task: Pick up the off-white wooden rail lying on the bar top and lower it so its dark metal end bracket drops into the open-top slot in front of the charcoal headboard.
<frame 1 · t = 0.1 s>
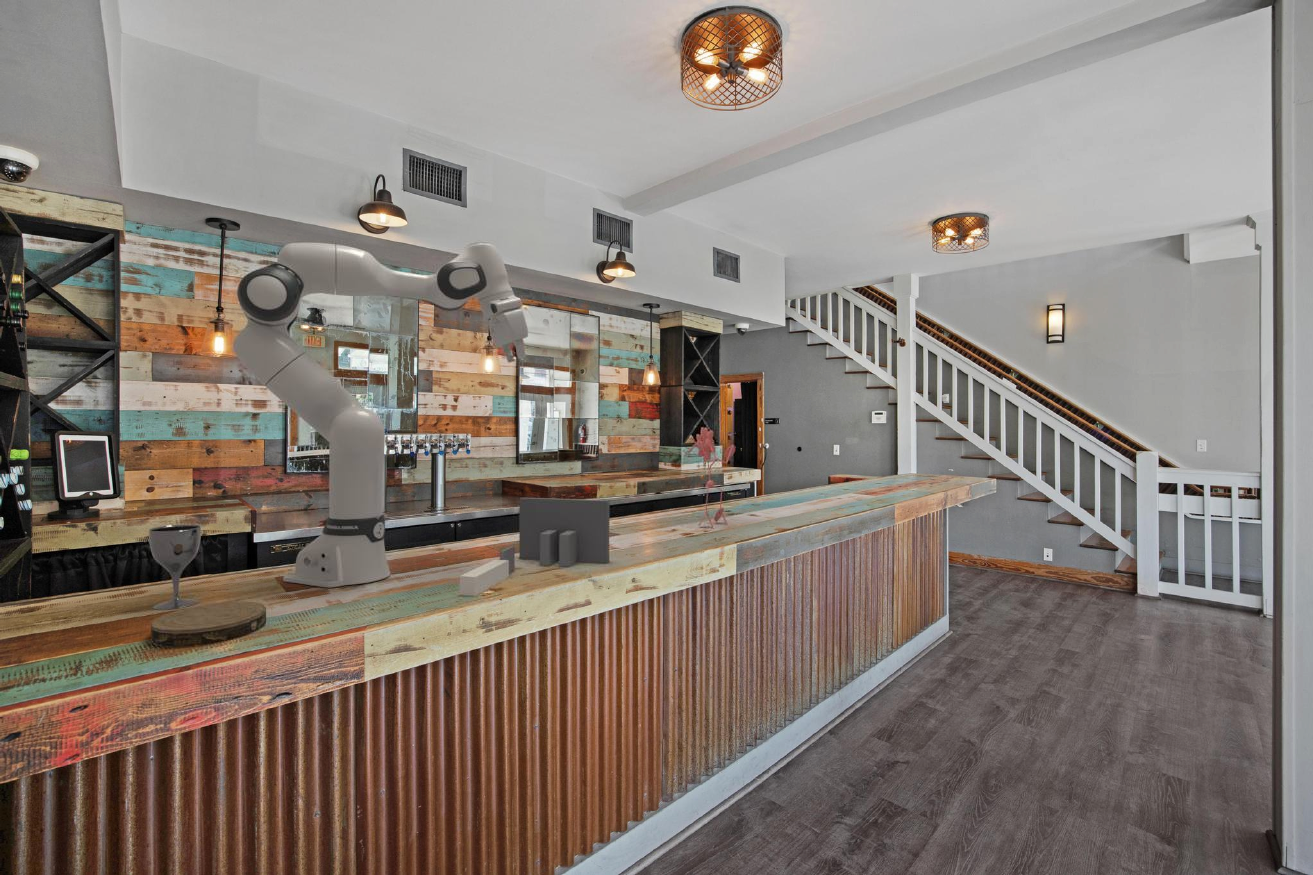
hand: (517, 360, 158), 52 cm above the table, tool tilted 20°, fingers open, 8 cm apart
pink spindly flower stalk: (704, 525, 220), on the table
wine glass: (176, 605, 120), on the table
wood slice coaster: (211, 633, 105), on the table
rail: (485, 585, 135), on the table
headboard: (558, 563, 157), on the table
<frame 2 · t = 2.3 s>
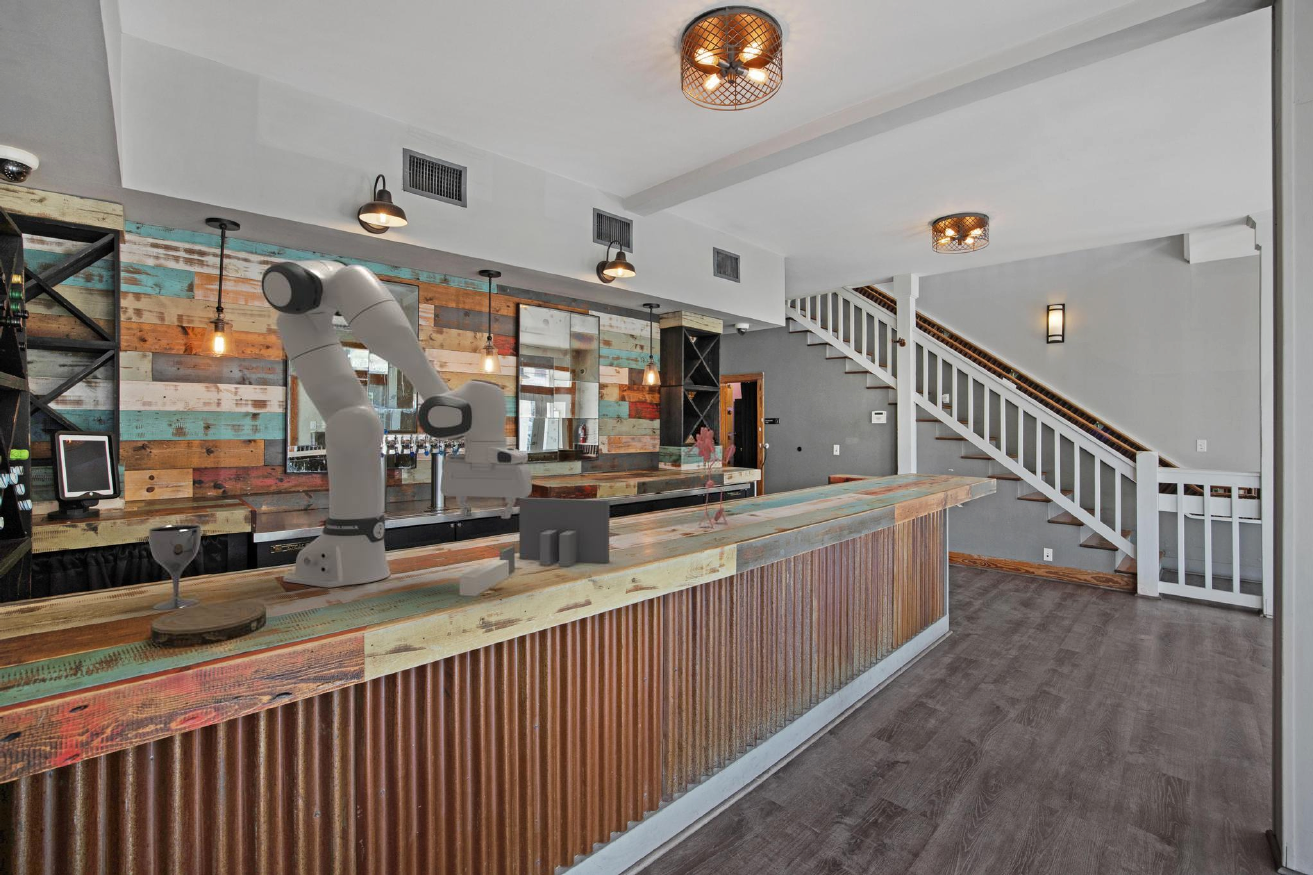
hand: (485, 517, 135), 15 cm above the table, tool pointing down, fingers open, 8 cm apart
nothing on the table moved.
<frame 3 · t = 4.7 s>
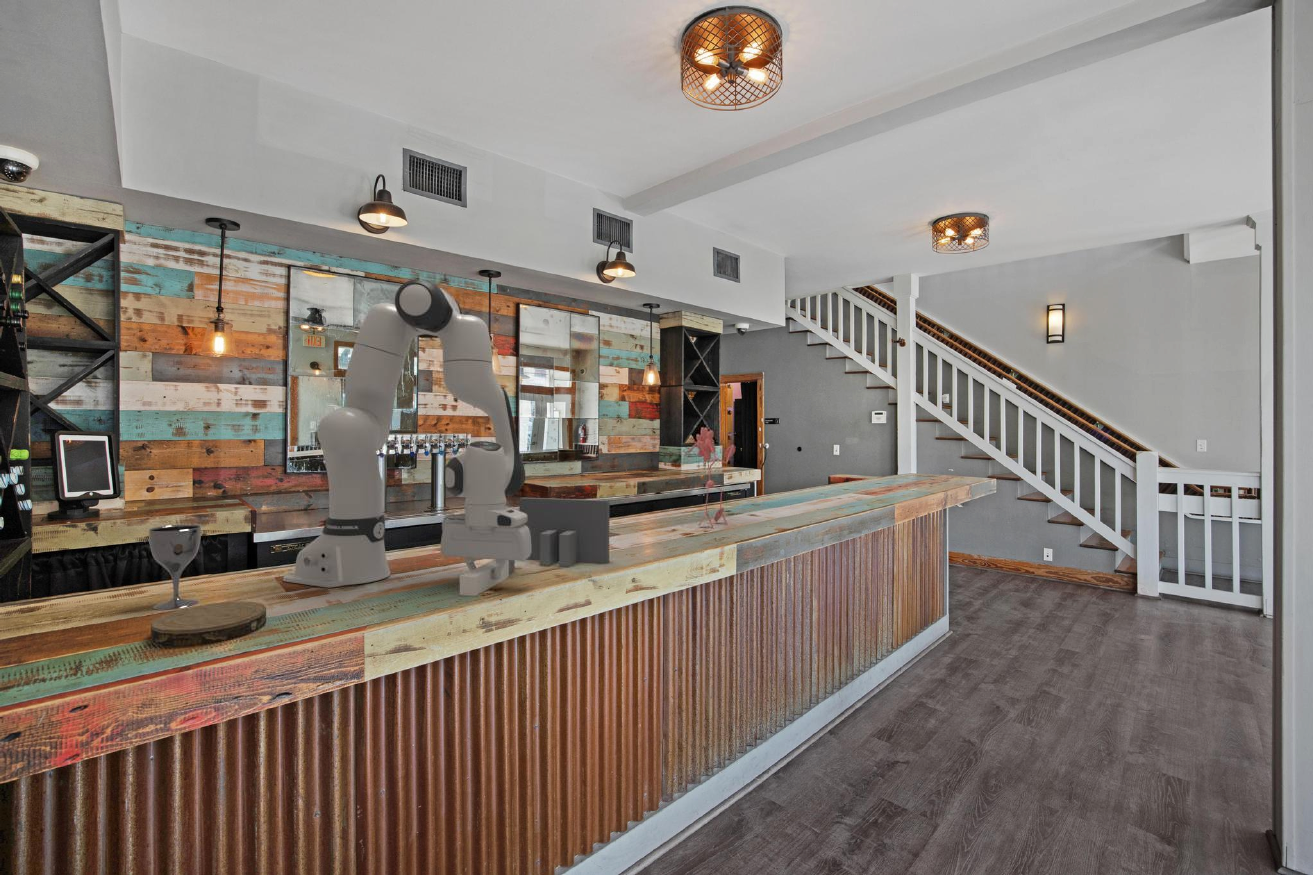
hand: (485, 578, 135), 2 cm above the table, tool pointing down, fingers closed on rail, 3 cm apart
rail: (485, 585, 135), on the table, touching gripper
everything else where it was.
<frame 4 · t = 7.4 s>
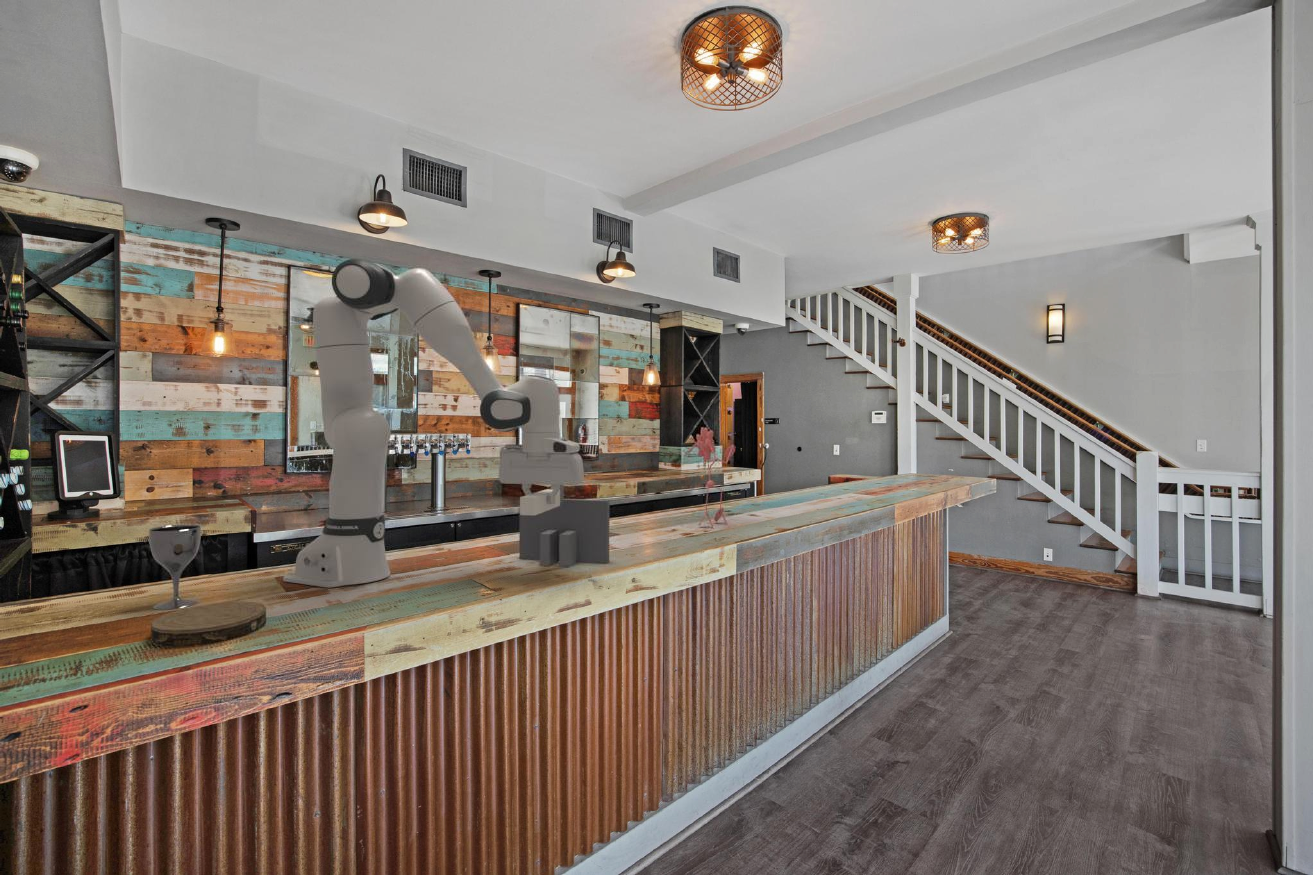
hand: (541, 503, 145), 17 cm above the table, tool pointing down, fingers closed on rail, 3 cm apart
rail: (541, 510, 145), point 15 cm above the table, touching gripper
everything else where it was.
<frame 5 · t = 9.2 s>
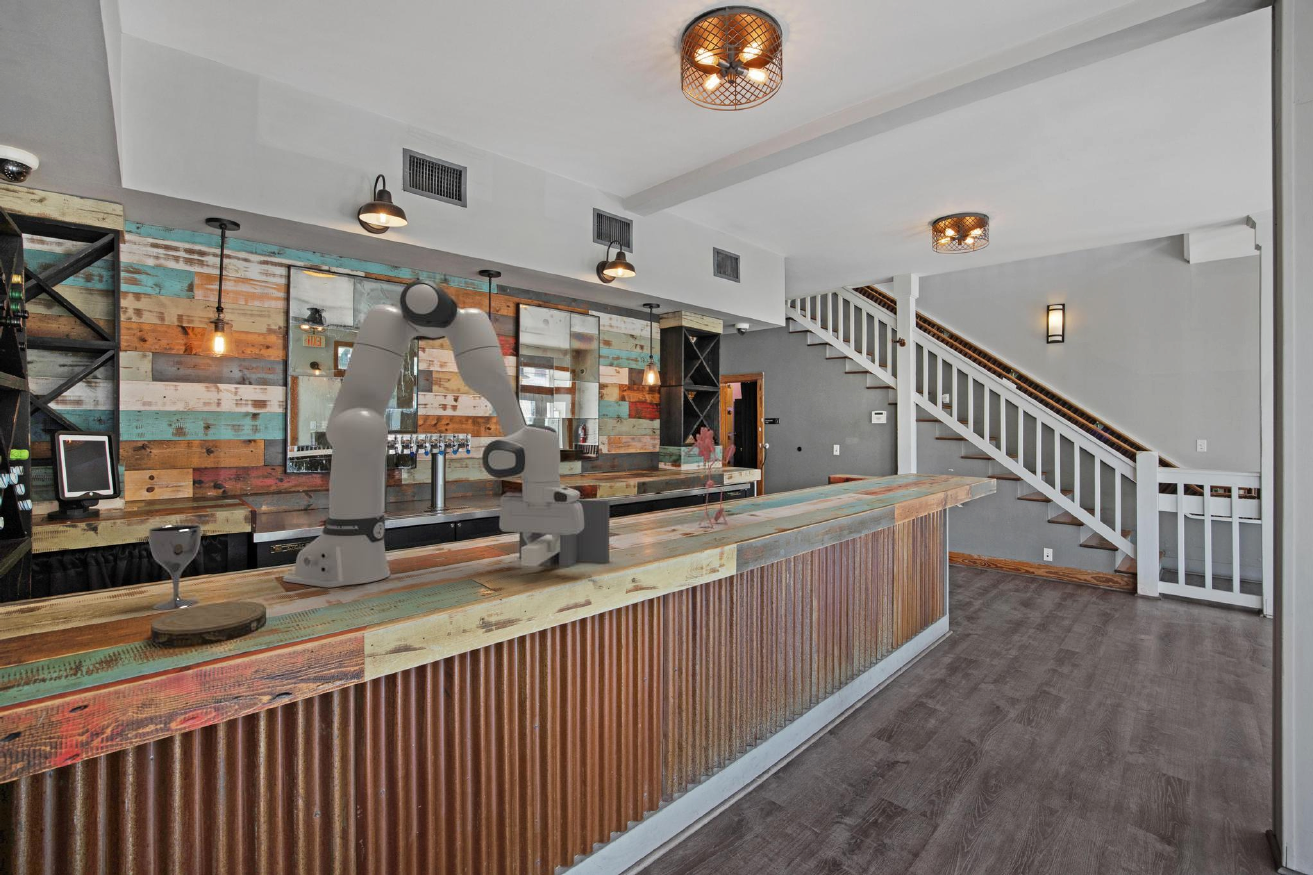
hand: (541, 551, 146), 5 cm above the table, tool pointing down, fingers closed on rail, 3 cm apart
rail: (541, 557, 146), point 4 cm above the table, touching gripper
everything else where it was.
when the fingers open (3 cm above the table, at t = 10.5 s): rail stays where it is, on the table.
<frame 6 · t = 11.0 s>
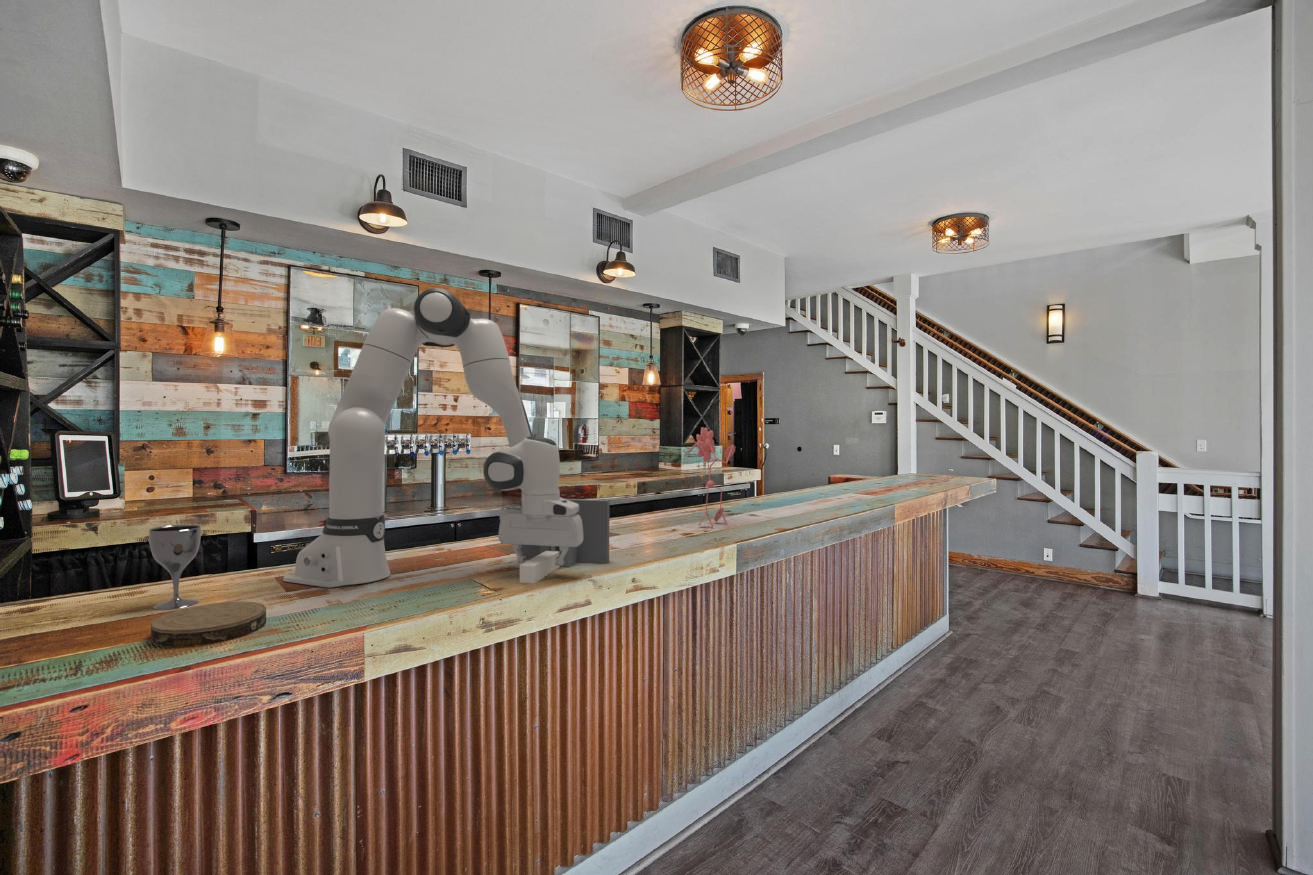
hand: (540, 563, 146), 3 cm above the table, tool pointing down, fingers open, 8 cm apart
rail: (540, 574, 146), on the table
everything else where it was.
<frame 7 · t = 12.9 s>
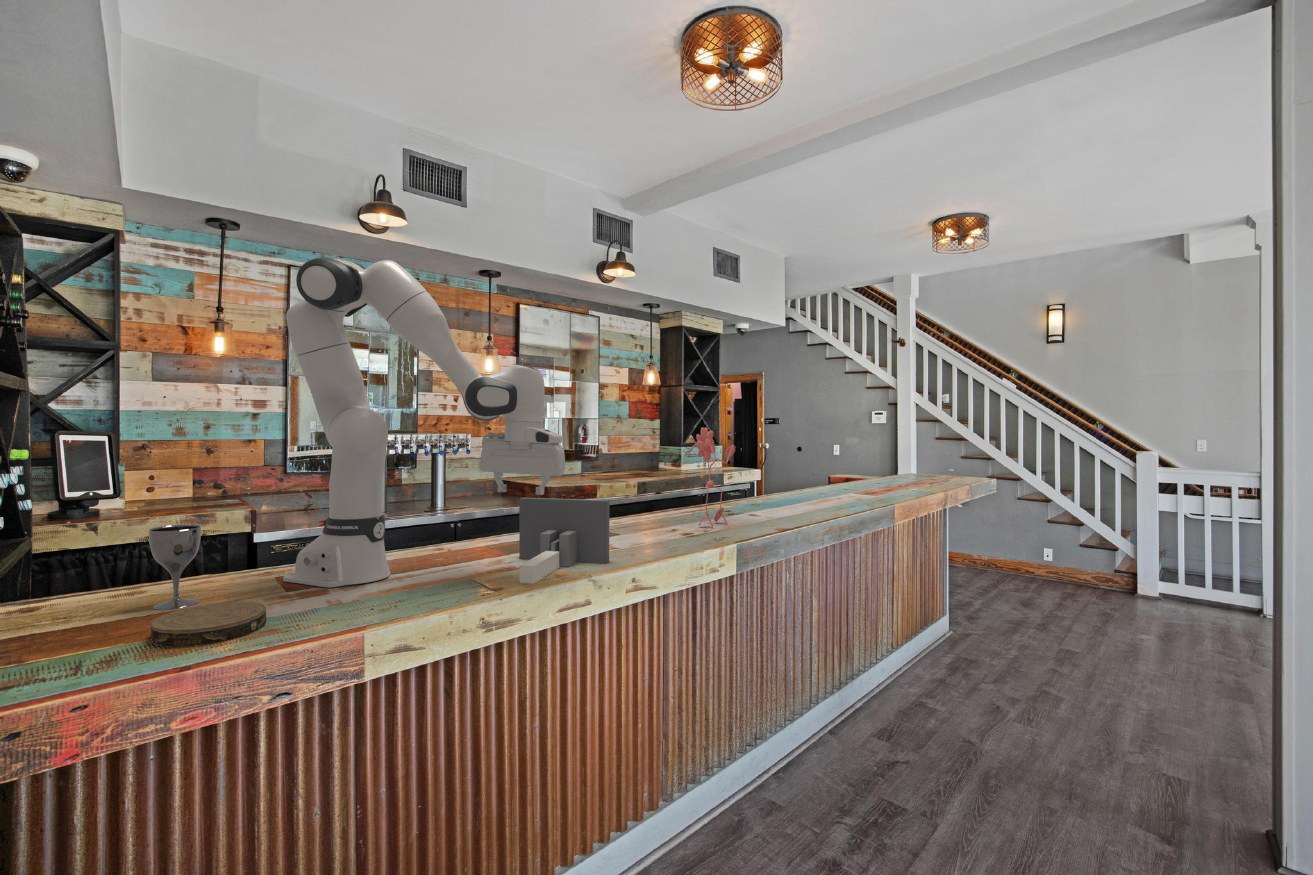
hand: (520, 493, 145), 19 cm above the table, tool pointing down, fingers open, 8 cm apart
nothing on the table moved.
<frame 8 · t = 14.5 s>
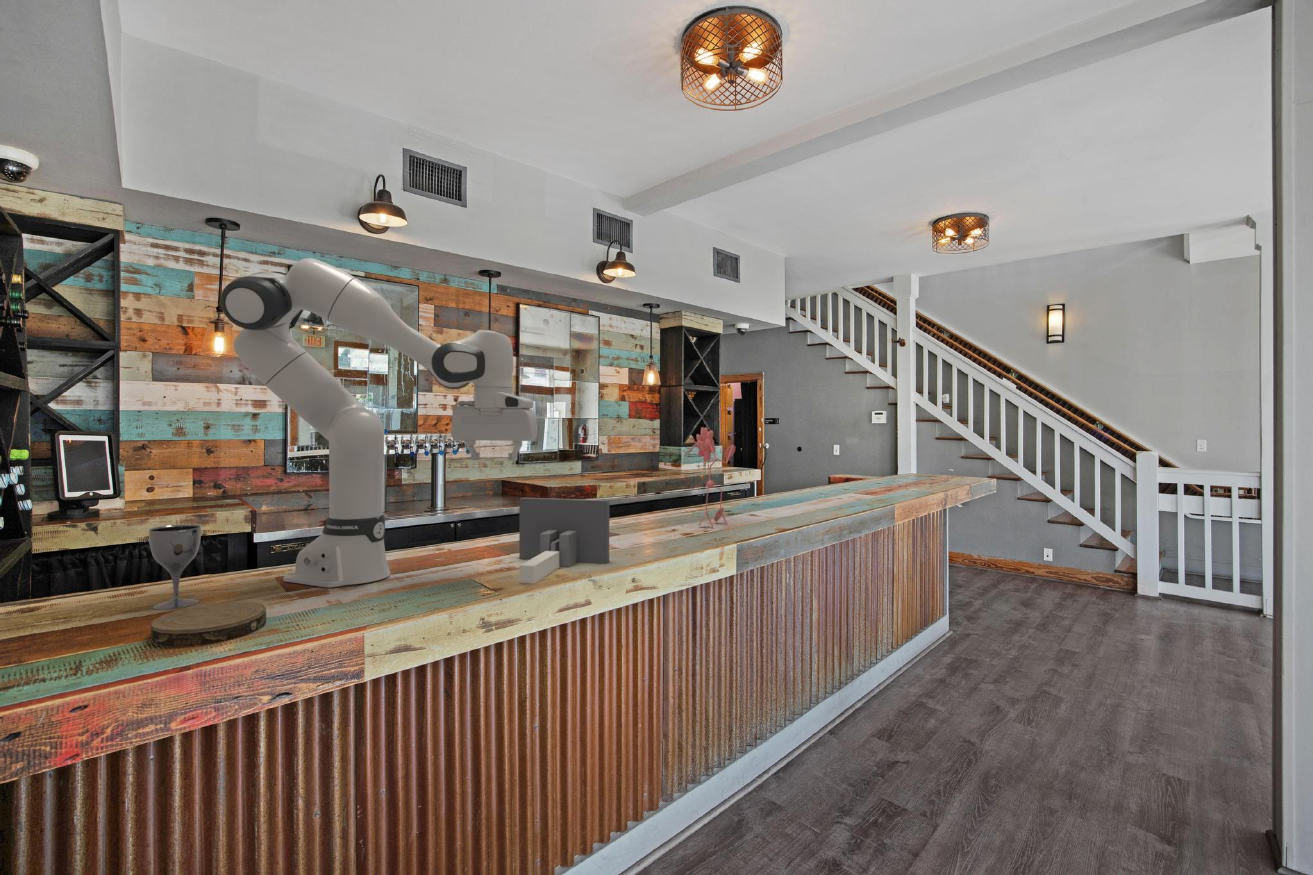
hand: (493, 460, 143), 27 cm above the table, tool pointing down, fingers open, 8 cm apart
nothing on the table moved.
at the end: rail 0.1 cm from the target spot, on the table; rail tilted 0°; the gripper is holding nothing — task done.
